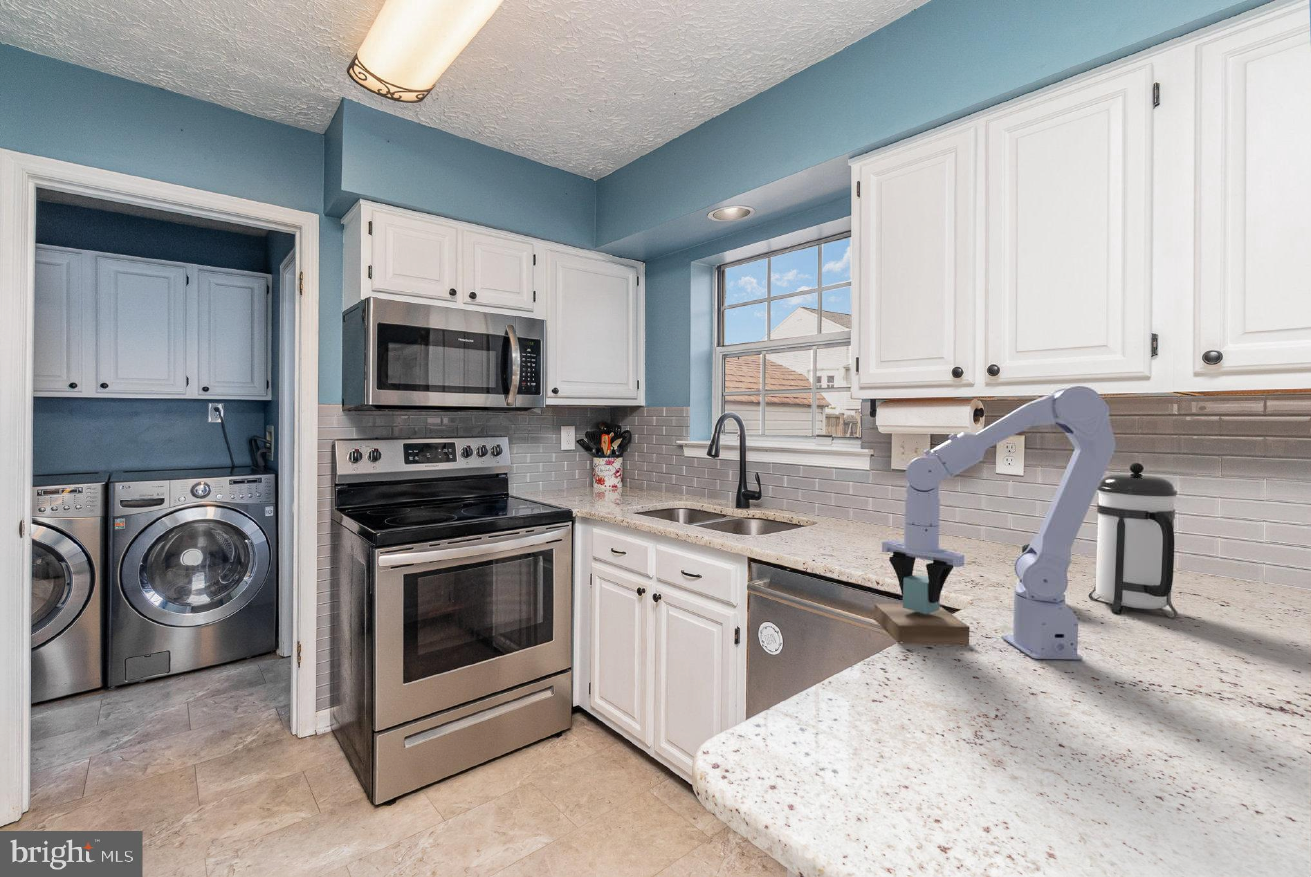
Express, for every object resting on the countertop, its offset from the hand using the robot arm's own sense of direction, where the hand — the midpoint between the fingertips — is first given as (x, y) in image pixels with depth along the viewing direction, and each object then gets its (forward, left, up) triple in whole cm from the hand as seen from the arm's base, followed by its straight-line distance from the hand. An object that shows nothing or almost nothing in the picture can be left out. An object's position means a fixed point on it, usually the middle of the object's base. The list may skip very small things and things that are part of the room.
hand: (919, 598), depth 109 cm
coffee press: (+14, -50, -6) cm, 52 cm away
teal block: (0, 0, -2) cm, 2 cm away
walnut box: (0, 0, -6) cm, 6 cm away
